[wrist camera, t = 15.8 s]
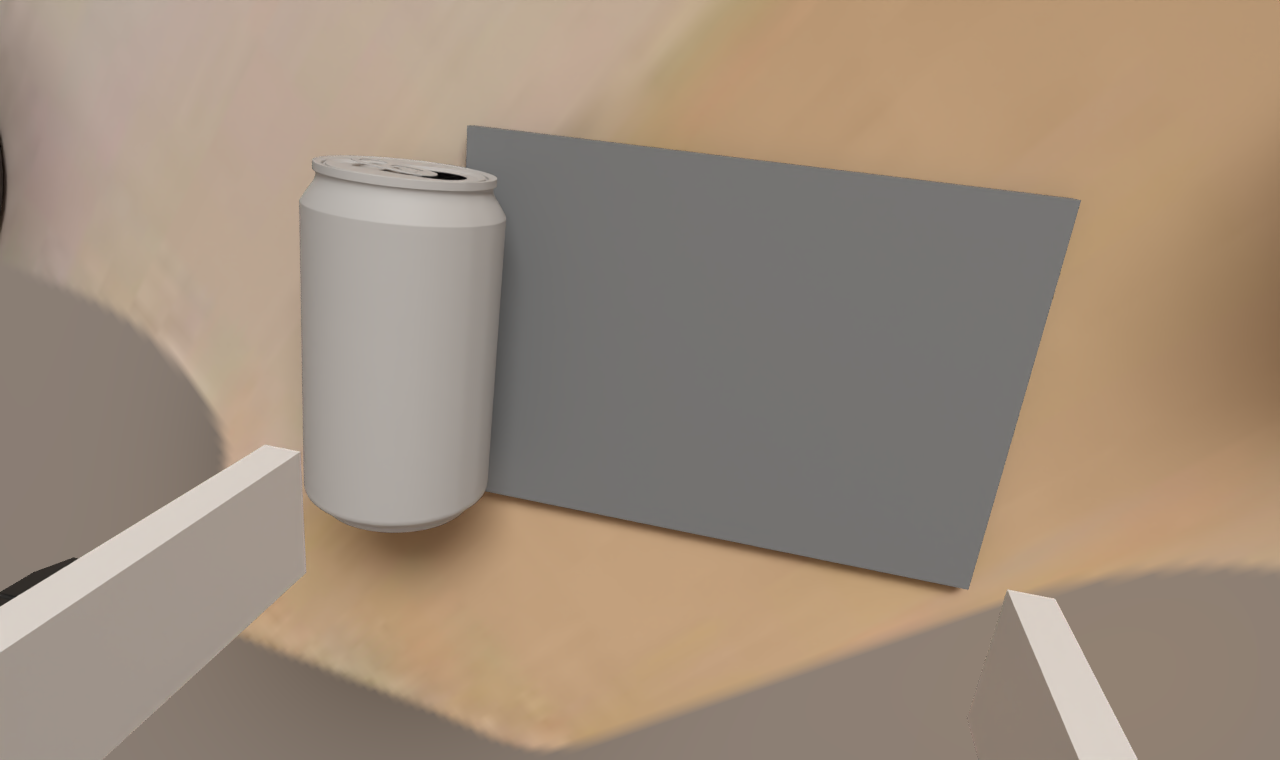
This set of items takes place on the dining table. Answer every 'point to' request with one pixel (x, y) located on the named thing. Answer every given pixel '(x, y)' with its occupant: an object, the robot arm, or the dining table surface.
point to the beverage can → (398, 338)
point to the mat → (764, 346)
